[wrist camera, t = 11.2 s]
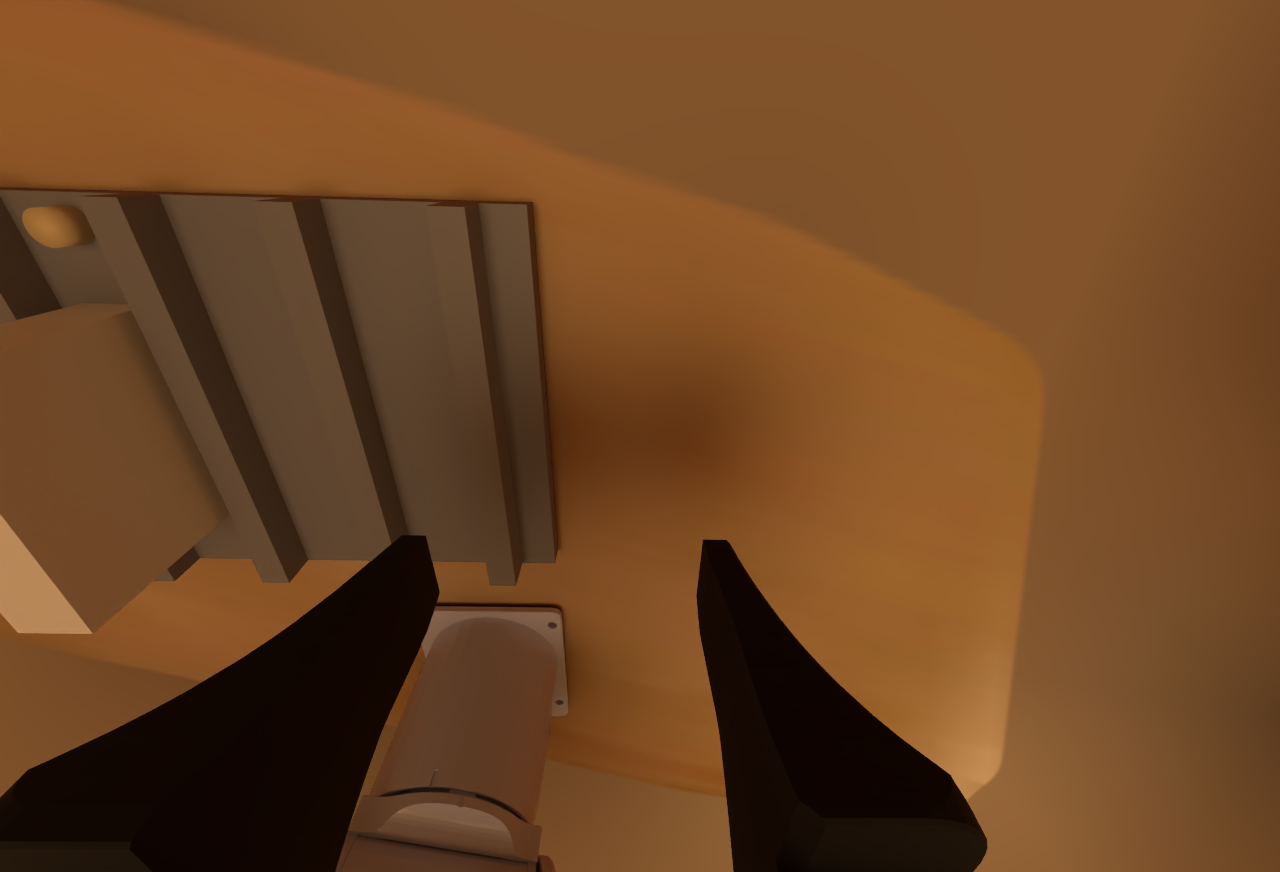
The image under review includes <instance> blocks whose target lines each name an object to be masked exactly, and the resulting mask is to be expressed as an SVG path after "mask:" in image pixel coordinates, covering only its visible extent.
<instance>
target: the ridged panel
mask: <svg viewBox="0 0 1280 872" xmlns="http://www.w3.org/2000/svg"><path fill="white" fill-rule="evenodd" d="M82 303H94V304H128V305H129V307H130V309H131V311H132V313H133V315H134V317H135V319H136V321H137V323H138V325H139V327H140V329H141V332H142V334H143V336H144V338H145V340H146V342H147V344H148V346H149V348H150V350H151V352H152V354H153V356H154V358H155V360H156V362H157V365H158V367H159V369H160V371H161V373H162V375H163V377H164V379H165V381H166V383H167V385H168V387H169V389H170V391H171V393H172V396H173V398H174V400H175V402H176V404H177V406H178V408H179V410H180V412H181V414H182V416H183V418H184V420H185V422H186V424H187V426H188V429H189V431H190V433H191V435H192V437H193V439H194V441H195V443H196V445H197V447H198V449H199V451H200V453H201V455H202V457H203V460H204V462H205V464H206V466H207V468H208V470H209V472H210V474H211V476H212V478H213V480H214V482H215V484H216V486H217V488H218V491H219V493H220V495H221V497H222V499H223V501H224V503H225V505H226V507H227V509H228V511H229V513H230V515H229V516H228V517H226V518H225V519H224V520H223V521H222V522H221V523H220V524H218V525H217V526H216V527H215V528H214V529H213V530H212V531H210V532H209V533H208V534H207V535H206V536H205V537H203V538H202V539H201V540H200V541H199V542H198V543H197V544H195V545H194V546H193V547H192V548H191V549H190V550H189V551H187V552H186V553H185V554H184V555H183V556H182V557H180V558H179V559H178V560H177V561H176V562H175V563H174V564H172V565H171V566H170V567H169V568H168V569H167V570H166V571H164V572H163V573H162V574H161V575H160V576H159V577H157V578H156V579H155V580H154V581H175V580H176V579H178V578H179V577H180V576H181V575H182V574H183V573H184V572H185V571H186V570H187V569H189V568H190V567H191V566H192V565H193V564H194V563H195V562H196V561H197V560H198V559H200V558H231V559H252V561H253V563H254V565H255V567H256V569H257V571H258V573H259V575H260V577H261V579H262V581H263V582H275V583H290V581H291V580H292V579H293V578H294V576H295V575H296V574H297V573H298V572H299V570H300V569H301V568H302V567H303V565H304V564H305V563H306V562H307V561H308V560H369V561H370V562H371V561H372V560H373V559H374V558H375V557H377V556H378V555H379V554H380V553H381V552H382V551H384V550H385V549H386V548H387V547H388V546H390V545H391V544H392V543H393V542H394V541H396V540H397V539H398V538H399V537H401V536H402V535H425V536H426V538H427V542H428V546H429V551H430V555H431V559H432V561H444V562H486V565H487V571H488V577H489V582H490V585H502V586H516V584H517V580H518V577H519V573H520V570H521V566H522V563H555V561H556V556H557V551H558V543H557V530H556V516H555V503H554V490H553V476H552V463H551V449H550V436H549V422H548V409H547V395H546V382H545V368H544V355H543V341H542V328H541V314H540V301H539V287H538V274H537V260H536V247H535V233H534V220H533V206H532V202H499V201H463V200H428V199H392V198H356V197H320V196H285V195H249V194H213V193H177V192H141V191H106V190H70V189H34V188H0V324H4V323H8V322H11V321H15V320H19V319H23V318H27V317H31V316H35V315H39V314H43V313H47V312H50V311H54V310H58V309H62V308H66V307H70V306H74V305H78V304H82Z"/></svg>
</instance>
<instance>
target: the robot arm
mask: <svg viewBox="0 0 1280 872" xmlns="http://www.w3.org/2000/svg"><path fill="white" fill-rule="evenodd" d="M439 593H440V592H439V587H438V583H437V579H436V575H435V571H434V567H433V563H432V559H431V555H430V551H429V546H428V542H427V538H426V536H425V535H402V536H401V537H399V538H398V539H397V540H396V541H394V542H393V543H392V544H391V545H390V546H388V547H387V548H386V549H385V550H384V551H382V552H381V553H380V554H379V555H378V556H377V557H375V558H374V559H373V560H372V561H371V562H370V563H368V564H367V565H366V566H365V567H364V568H362V569H361V570H360V571H359V572H358V573H356V574H355V575H354V576H353V577H352V578H350V579H349V580H348V581H347V582H346V583H344V584H343V585H342V586H341V587H340V588H338V589H337V590H336V591H335V592H333V593H332V594H331V595H330V596H328V597H327V598H326V599H324V600H323V601H322V602H320V603H319V604H318V605H317V606H315V607H314V608H313V609H311V610H310V611H309V612H307V613H306V614H305V615H303V616H302V617H301V618H300V619H298V620H297V621H296V622H294V623H293V624H292V625H290V626H289V627H287V628H286V629H285V630H283V631H282V632H280V633H279V634H278V635H276V636H275V637H273V638H272V639H270V640H269V641H267V642H266V643H264V644H263V645H261V646H260V647H258V648H257V649H255V650H254V651H252V652H251V653H249V654H248V655H246V656H245V657H243V658H242V659H240V660H238V661H237V662H235V663H234V664H232V665H230V666H228V667H227V668H225V669H223V670H222V671H220V672H218V673H217V674H215V675H213V676H212V677H210V678H208V679H207V680H205V681H203V682H202V683H200V684H198V685H197V686H195V687H193V688H192V689H190V690H188V691H186V692H185V693H183V694H181V695H179V696H177V697H176V698H174V699H172V700H170V701H168V702H167V703H165V704H163V705H161V706H159V707H157V708H155V709H153V710H152V711H150V712H148V713H146V714H144V715H142V716H140V717H138V718H136V719H134V720H132V721H130V722H128V723H126V724H125V725H122V726H120V727H119V728H117V729H115V730H113V731H111V732H108V733H106V734H104V735H102V736H100V737H98V738H96V739H94V740H92V741H89V742H87V743H85V744H83V745H81V746H79V747H77V748H75V749H73V750H70V751H68V752H66V753H64V754H62V755H60V756H57V757H55V758H53V759H51V760H49V761H47V762H45V763H42V764H40V765H38V766H36V767H34V768H31V769H29V770H28V771H26V772H25V774H23V776H21V778H20V779H18V780H17V781H16V782H15V783H14V784H13V785H12V787H10V788H9V790H7V791H6V792H5V793H4V795H2V796H1V798H0V872H556V871H555V867H554V864H553V861H552V860H551V858H550V857H548V856H544V855H538V853H539V846H540V839H541V832H542V828H541V826H537V825H534V823H535V819H536V815H537V810H538V803H539V797H540V790H541V784H542V777H543V771H544V763H545V757H546V751H547V744H548V738H549V731H550V724H551V718H552V716H565V715H567V714H568V710H569V702H568V689H567V675H566V662H565V649H564V636H563V622H562V613H561V611H560V610H559V609H557V608H544V607H464V606H436V603H437V600H438V596H439ZM697 606H698V618H699V629H700V636H701V641H702V646H703V651H704V656H705V661H706V666H707V671H708V676H709V681H710V686H711V691H712V696H713V701H714V706H715V711H716V716H717V721H718V728H719V734H720V741H721V750H722V759H723V768H724V777H725V787H726V797H727V806H728V816H729V826H730V836H731V848H732V859H733V870H734V872H973V871H974V870H975V869H976V868H977V866H978V865H979V864H980V863H981V861H982V859H983V857H984V856H985V854H986V850H987V838H986V837H985V835H984V833H983V831H982V829H981V827H980V825H979V823H978V821H977V819H976V817H975V815H974V813H973V811H972V810H971V808H970V806H969V805H968V803H967V801H966V799H965V798H964V796H963V795H962V793H961V791H960V790H959V788H958V787H957V785H956V784H955V782H954V780H953V779H952V777H951V775H950V774H948V773H947V772H946V771H944V770H943V769H942V768H940V767H939V766H938V765H936V764H935V763H933V762H932V761H931V760H929V759H928V758H927V757H925V756H924V755H923V754H921V753H920V752H919V751H917V750H916V749H915V748H913V747H912V746H911V745H909V744H908V743H906V742H905V741H904V740H903V739H901V738H900V737H899V736H897V735H896V734H895V733H894V732H893V731H891V730H890V729H889V728H888V727H887V726H885V725H884V724H883V723H882V722H880V721H879V720H878V719H877V718H876V717H874V716H873V715H872V714H871V713H870V712H869V711H868V710H867V709H865V708H864V707H863V706H862V705H861V704H860V703H859V702H858V701H857V700H856V699H855V698H853V697H852V696H851V695H850V694H849V693H848V692H847V691H846V690H845V689H844V688H842V687H841V686H840V685H839V684H838V683H837V682H836V681H835V680H834V679H833V678H832V677H831V676H830V675H829V674H828V673H827V672H826V671H825V670H824V669H823V668H822V667H821V666H820V665H819V663H818V662H817V661H816V660H815V659H814V658H813V657H812V656H811V655H810V654H809V653H808V652H807V650H806V649H805V648H804V647H803V646H802V645H801V644H800V643H799V641H798V640H797V639H796V638H795V637H794V635H793V634H792V633H791V632H790V631H789V629H788V628H787V627H786V626H785V624H784V623H783V622H782V621H781V619H780V618H779V617H778V616H777V614H776V613H775V612H774V610H773V609H772V608H771V606H770V605H769V603H768V602H767V601H766V599H765V598H764V596H763V595H762V594H761V592H760V591H759V589H758V588H757V587H756V585H755V584H754V582H753V581H752V579H751V578H750V576H749V575H748V573H747V571H746V570H745V568H744V567H743V565H742V564H741V562H740V560H739V559H738V557H737V555H736V553H735V552H734V550H733V548H732V546H731V545H730V543H729V542H728V541H727V540H703V545H702V554H701V562H700V571H699V579H698V588H697ZM552 622H554V623H552ZM421 645H422V649H423V652H424V655H425V659H426V660H425V663H424V665H423V667H422V670H421V672H420V675H419V677H418V679H417V682H416V684H415V686H414V689H413V691H412V694H411V696H410V698H409V701H408V703H407V705H406V708H405V710H404V713H403V715H402V717H401V720H400V722H399V724H398V727H397V729H396V731H395V734H394V737H393V739H392V741H391V743H390V746H389V748H388V751H387V753H386V755H385V758H384V760H383V763H382V765H381V767H380V769H379V772H378V774H377V777H376V779H375V781H374V784H373V786H372V788H371V791H370V793H369V795H364V796H362V798H361V800H360V803H359V805H358V807H357V810H356V812H355V814H354V817H353V819H352V816H353V813H354V810H355V807H356V803H357V800H358V798H359V795H360V792H361V789H362V786H363V782H364V780H365V777H366V773H367V771H368V768H369V765H370V762H371V759H372V757H373V754H374V751H375V748H376V745H377V743H378V740H379V737H380V734H381V732H382V730H383V727H384V725H385V723H386V720H387V718H388V715H389V713H390V711H391V709H392V707H393V705H394V703H395V700H396V698H397V696H398V694H399V692H400V690H401V687H402V685H403V683H404V681H405V679H406V677H407V675H408V672H409V670H410V668H411V666H412V664H413V662H414V660H415V657H416V655H417V653H418V651H419V649H420V646H421ZM351 819H352V821H351ZM350 822H351V824H350ZM349 825H350V826H349Z"/></svg>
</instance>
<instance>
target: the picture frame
mask: <svg viewBox="0 0 1280 872" xmlns="http://www.w3.org/2000/svg"><path fill="white" fill-rule="evenodd" d="M229 515H230V513H229V511H228V509H227V507H226V505H225V503H224V501H223V499H222V497H221V495H220V493H219V491H218V488H217V486H216V484H215V482H214V480H213V478H212V476H211V474H210V472H209V470H208V468H207V466H206V464H205V462H204V460H203V457H202V455H201V453H200V451H199V449H198V447H197V445H196V443H195V441H194V439H193V437H192V435H191V433H190V431H189V429H188V426H187V424H186V422H185V420H184V418H183V416H182V414H181V412H180V410H179V408H178V406H177V404H176V402H175V400H174V398H173V396H172V393H171V391H170V389H169V387H168V385H167V383H166V381H165V379H164V377H163V375H162V373H161V371H160V369H159V367H158V365H157V362H156V360H155V358H154V356H153V354H152V352H151V350H150V348H149V346H148V344H147V342H146V340H145V338H144V336H143V334H142V332H141V329H140V327H139V325H138V323H137V321H136V319H135V317H134V315H133V313H132V311H131V309H130V307H129V305H128V304H94V303H82V304H78V305H74V306H70V307H66V308H62V309H58V310H54V311H50V312H47V313H43V314H39V315H35V316H31V317H27V318H23V319H19V320H15V321H11V322H8V323H4V324H0V613H1V614H2V615H3V616H4V618H5V619H6V620H7V621H8V622H9V623H10V624H11V626H12V627H13V628H14V629H15V630H16V631H17V632H18V633H68V634H93V633H94V632H95V631H97V630H98V629H99V628H100V627H101V626H102V625H103V624H105V623H106V622H107V621H108V620H109V619H110V618H111V617H113V616H114V615H115V614H116V613H117V612H118V611H120V610H121V609H122V608H123V607H124V606H125V605H126V604H128V603H129V602H130V601H131V600H132V599H133V598H134V597H136V596H137V595H138V594H139V593H140V592H141V591H143V590H144V589H145V588H146V587H147V586H148V585H149V584H151V583H152V582H153V581H154V580H155V579H156V578H157V577H159V576H160V575H161V574H162V573H163V572H164V571H166V570H167V569H168V568H169V567H170V566H171V565H172V564H174V563H175V562H176V561H177V560H178V559H179V558H180V557H182V556H183V555H184V554H185V553H186V552H187V551H189V550H190V549H191V548H192V547H193V546H194V545H195V544H197V543H198V542H199V541H200V540H201V539H202V538H203V537H205V536H206V535H207V534H208V533H209V532H210V531H212V530H213V529H214V528H215V527H216V526H217V525H218V524H220V523H221V522H222V521H223V520H224V519H225V518H226V517H228V516H229Z"/></svg>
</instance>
